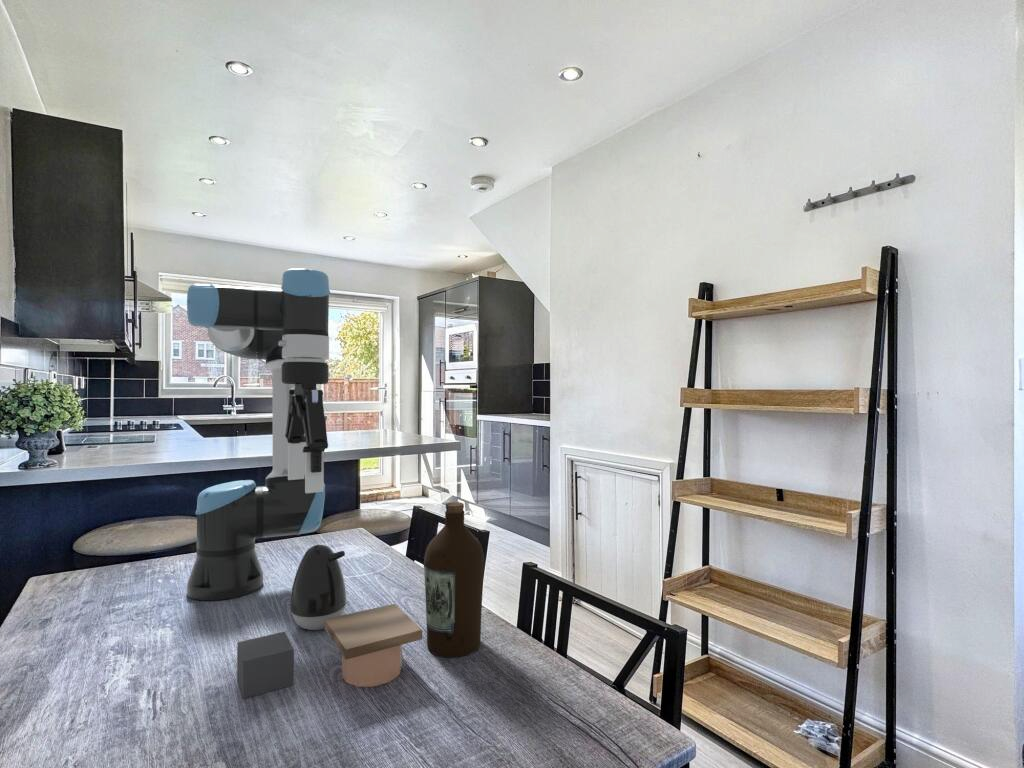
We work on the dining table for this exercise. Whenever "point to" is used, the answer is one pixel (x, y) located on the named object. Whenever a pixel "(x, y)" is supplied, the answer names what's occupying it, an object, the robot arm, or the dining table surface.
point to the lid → (372, 630)
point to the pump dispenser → (318, 588)
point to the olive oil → (454, 587)
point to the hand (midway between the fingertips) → (304, 485)
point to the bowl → (373, 667)
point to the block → (265, 664)
